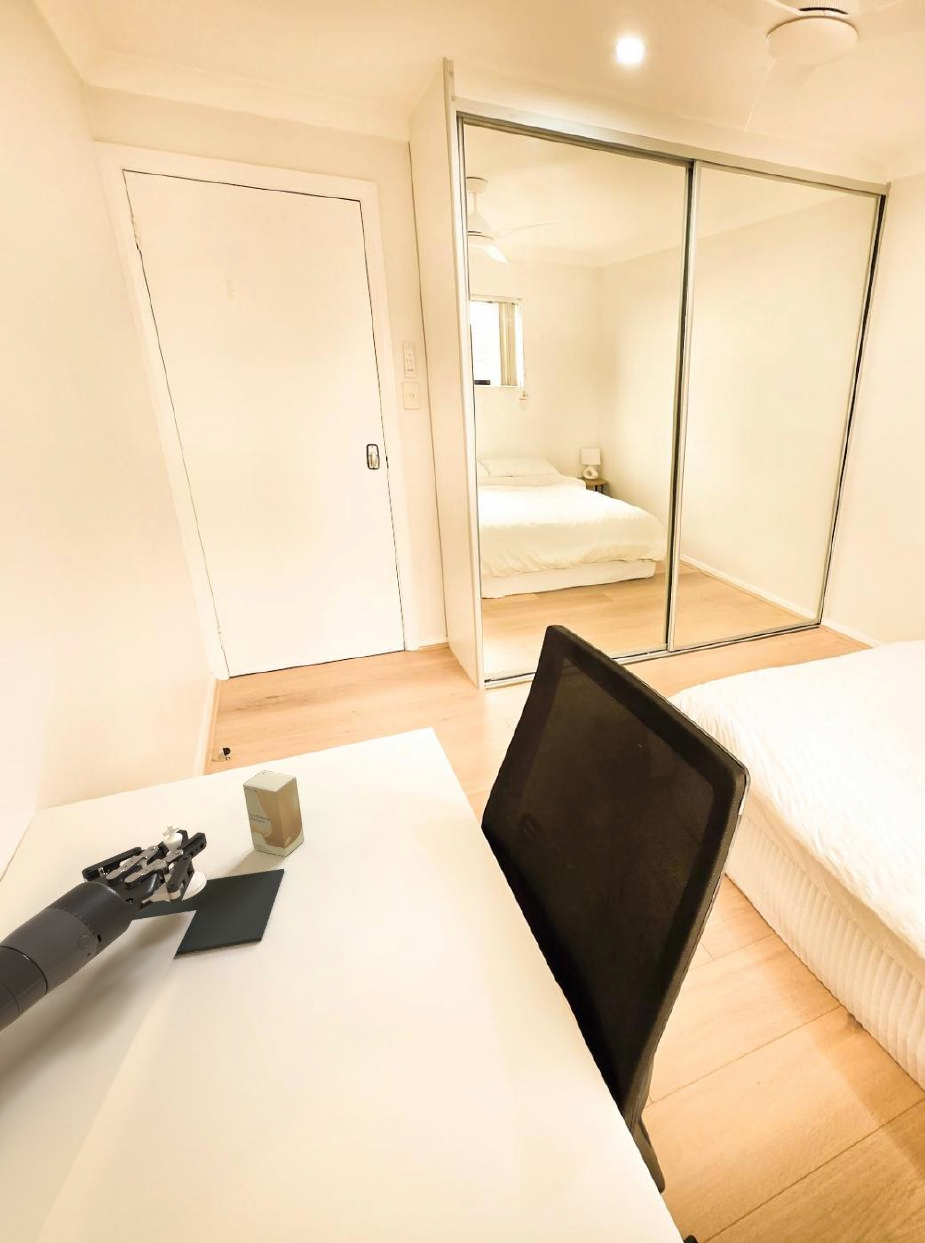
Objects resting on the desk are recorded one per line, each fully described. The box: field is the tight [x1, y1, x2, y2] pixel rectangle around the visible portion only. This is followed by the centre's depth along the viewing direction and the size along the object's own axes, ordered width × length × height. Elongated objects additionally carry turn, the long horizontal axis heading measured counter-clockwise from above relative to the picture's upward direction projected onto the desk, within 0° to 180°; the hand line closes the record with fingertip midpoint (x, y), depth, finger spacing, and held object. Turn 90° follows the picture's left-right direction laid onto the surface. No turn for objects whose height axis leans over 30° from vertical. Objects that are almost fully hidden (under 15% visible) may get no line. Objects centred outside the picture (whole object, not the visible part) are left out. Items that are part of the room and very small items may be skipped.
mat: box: [132, 868, 285, 956], centre depth 83 cm, size 20×13×1 cm, turn 105°
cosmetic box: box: [242, 769, 305, 857], centre depth 95 cm, size 6×4×12 cm
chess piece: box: [161, 823, 207, 902], centre depth 80 cm, size 5×5×10 cm
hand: (194, 836), depth 82 cm, fingers closed on chess piece
